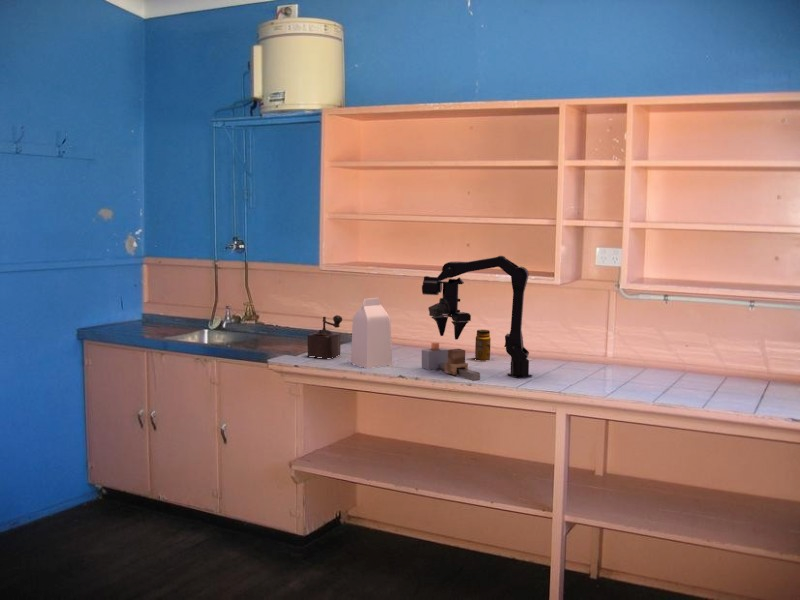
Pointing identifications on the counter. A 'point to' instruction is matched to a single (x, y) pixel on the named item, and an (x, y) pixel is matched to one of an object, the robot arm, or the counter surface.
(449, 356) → the carriage
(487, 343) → the condiment
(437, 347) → the brown rounded piece
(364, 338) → the milk
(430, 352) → the grey peg holder
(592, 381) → the counter surface
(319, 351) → the manual coffee grinder
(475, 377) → the rail
